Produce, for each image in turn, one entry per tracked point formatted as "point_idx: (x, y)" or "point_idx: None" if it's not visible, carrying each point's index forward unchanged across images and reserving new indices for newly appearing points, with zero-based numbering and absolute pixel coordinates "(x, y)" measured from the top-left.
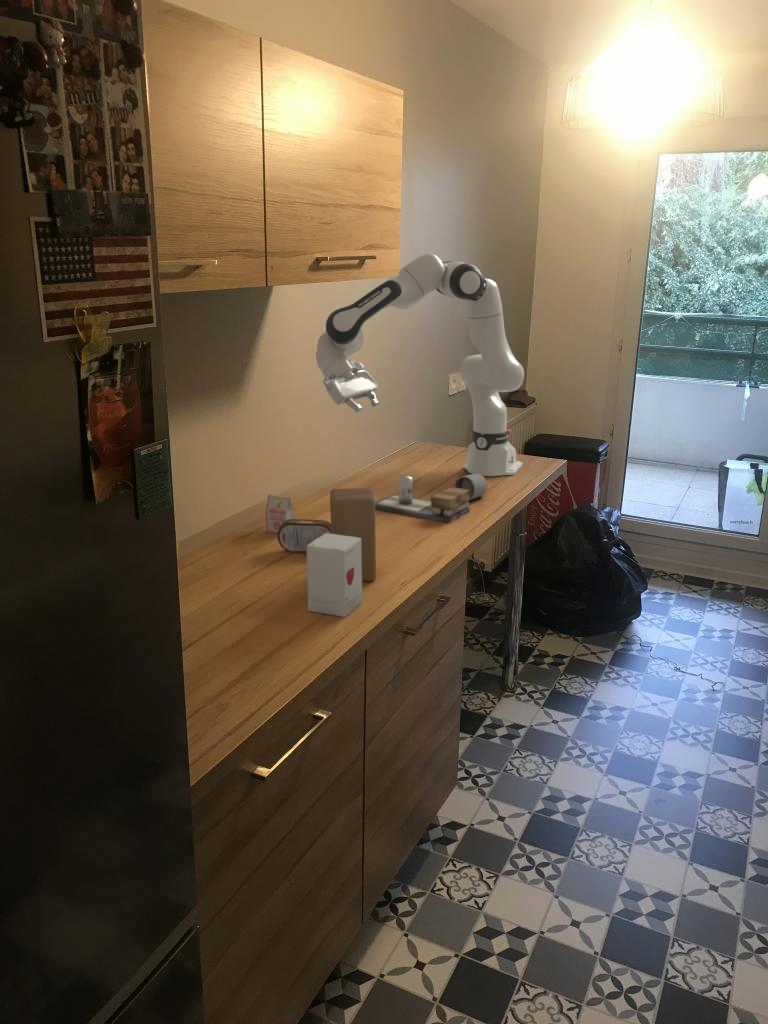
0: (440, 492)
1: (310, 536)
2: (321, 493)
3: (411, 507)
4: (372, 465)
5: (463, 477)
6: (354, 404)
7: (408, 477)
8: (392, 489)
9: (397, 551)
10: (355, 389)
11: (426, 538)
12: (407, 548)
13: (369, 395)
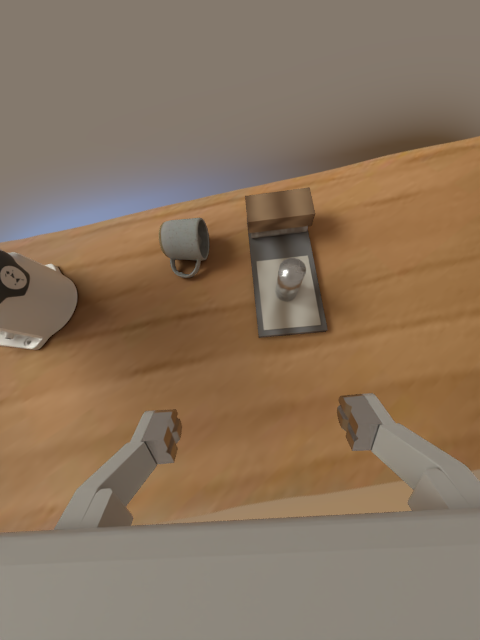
0: (285, 217)
1: None
2: (317, 478)
3: None
4: None
5: (186, 238)
6: (410, 436)
7: (293, 262)
8: (214, 372)
9: (435, 200)
10: (372, 612)
11: (372, 202)
12: (418, 198)
13: (118, 520)
